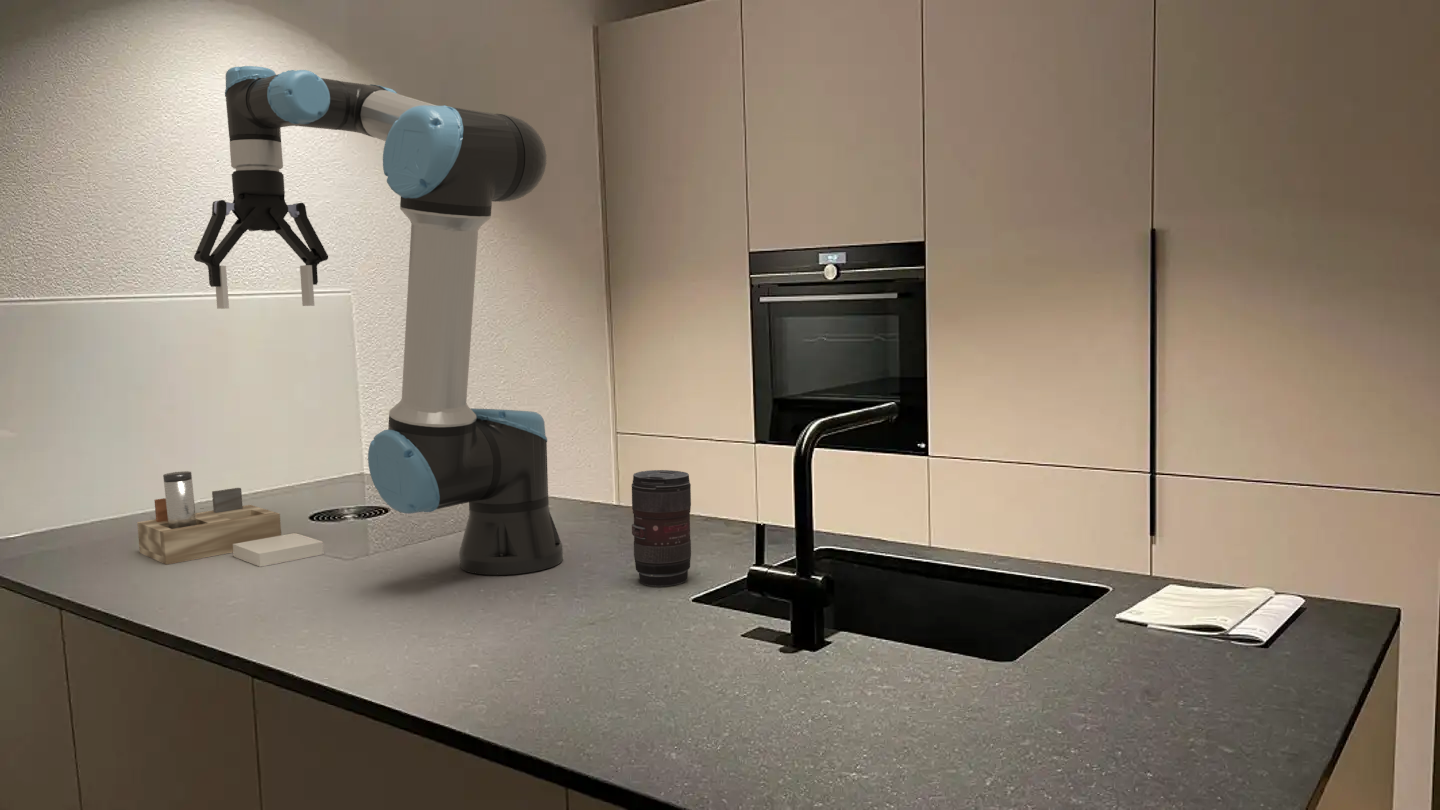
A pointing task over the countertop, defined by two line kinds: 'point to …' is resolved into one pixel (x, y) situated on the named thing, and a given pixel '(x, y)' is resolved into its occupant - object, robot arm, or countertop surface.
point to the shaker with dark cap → (179, 499)
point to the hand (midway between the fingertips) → (266, 307)
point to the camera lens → (661, 526)
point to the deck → (277, 549)
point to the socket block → (207, 529)
